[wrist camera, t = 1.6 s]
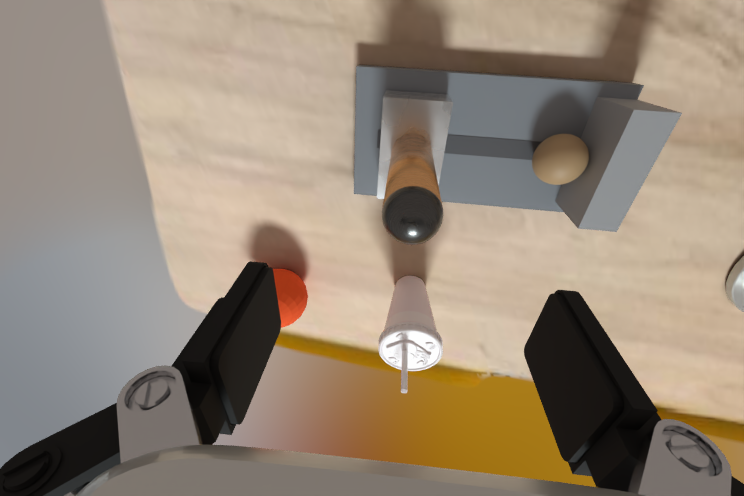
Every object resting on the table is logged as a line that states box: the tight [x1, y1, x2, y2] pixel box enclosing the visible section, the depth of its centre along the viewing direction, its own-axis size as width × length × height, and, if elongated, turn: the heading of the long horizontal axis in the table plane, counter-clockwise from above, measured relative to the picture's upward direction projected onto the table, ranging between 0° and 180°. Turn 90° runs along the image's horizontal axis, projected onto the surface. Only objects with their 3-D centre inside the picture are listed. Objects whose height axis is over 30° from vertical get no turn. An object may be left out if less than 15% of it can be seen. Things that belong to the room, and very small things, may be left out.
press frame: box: [354, 65, 682, 232], centre depth 27 cm, size 22×11×6 cm, turn 87°
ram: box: [377, 90, 453, 245], centre depth 22 cm, size 5×8×15 cm, turn 177°
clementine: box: [273, 269, 308, 327], centre depth 38 cm, size 8×7×7 cm
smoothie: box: [379, 276, 443, 393], centre depth 34 cm, size 6×6×14 cm
